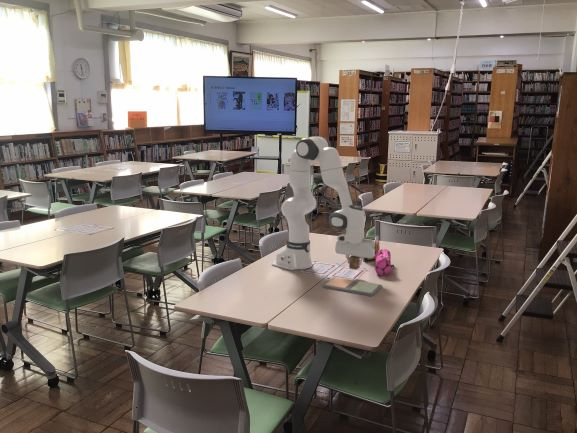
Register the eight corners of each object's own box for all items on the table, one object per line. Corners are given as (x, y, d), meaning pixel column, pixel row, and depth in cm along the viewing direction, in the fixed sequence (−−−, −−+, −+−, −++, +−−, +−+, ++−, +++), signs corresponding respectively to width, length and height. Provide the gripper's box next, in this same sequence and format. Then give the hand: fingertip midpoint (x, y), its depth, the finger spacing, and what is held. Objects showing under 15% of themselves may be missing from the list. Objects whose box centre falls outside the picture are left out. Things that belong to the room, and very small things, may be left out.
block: (349, 268, 246) (349, 257, 245) (352, 266, 249) (352, 255, 248) (356, 269, 244) (356, 258, 243) (359, 267, 248) (359, 256, 246)
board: (322, 287, 234) (322, 284, 234) (334, 278, 246) (334, 276, 245) (372, 296, 222) (372, 293, 221) (382, 286, 234) (382, 284, 233)
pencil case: (394, 276, 248) (394, 258, 246) (374, 276, 249) (375, 257, 247) (391, 264, 269) (392, 246, 267) (373, 263, 270) (374, 246, 268)
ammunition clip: (378, 258, 278) (378, 238, 276) (380, 259, 277) (380, 239, 274) (363, 261, 273) (363, 241, 271) (365, 262, 272) (365, 241, 269)
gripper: (377, 238, 241) (376, 265, 244) (339, 233, 251) (338, 259, 254) (372, 241, 236) (371, 268, 239) (334, 236, 246) (333, 262, 249)
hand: (354, 263), depth 246 cm, fingers closed on block, 4 cm apart
